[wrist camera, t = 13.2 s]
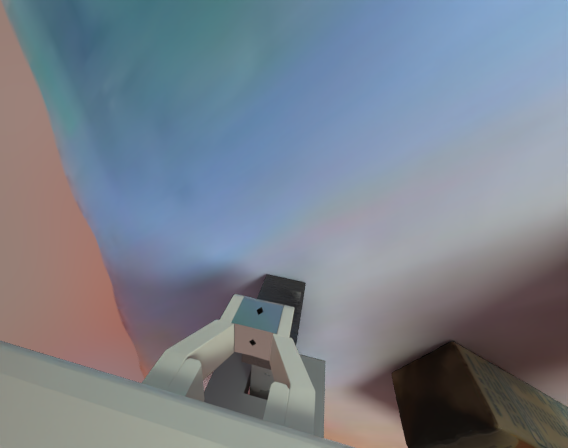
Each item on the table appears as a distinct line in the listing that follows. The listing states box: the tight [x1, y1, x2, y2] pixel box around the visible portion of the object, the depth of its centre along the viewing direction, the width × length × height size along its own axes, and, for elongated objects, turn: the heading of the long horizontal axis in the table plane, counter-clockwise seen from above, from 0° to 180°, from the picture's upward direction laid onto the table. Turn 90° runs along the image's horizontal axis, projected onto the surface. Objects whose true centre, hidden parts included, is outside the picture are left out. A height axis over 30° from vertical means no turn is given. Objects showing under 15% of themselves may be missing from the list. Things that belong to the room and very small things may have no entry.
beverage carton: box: [392, 342, 568, 448], centre depth 18 cm, size 8×19×7 cm, turn 61°
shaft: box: [242, 275, 306, 400], centre depth 19 cm, size 14×4×6 cm, turn 174°
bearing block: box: [204, 352, 325, 438], centre depth 21 cm, size 3×11×8 cm, turn 84°
